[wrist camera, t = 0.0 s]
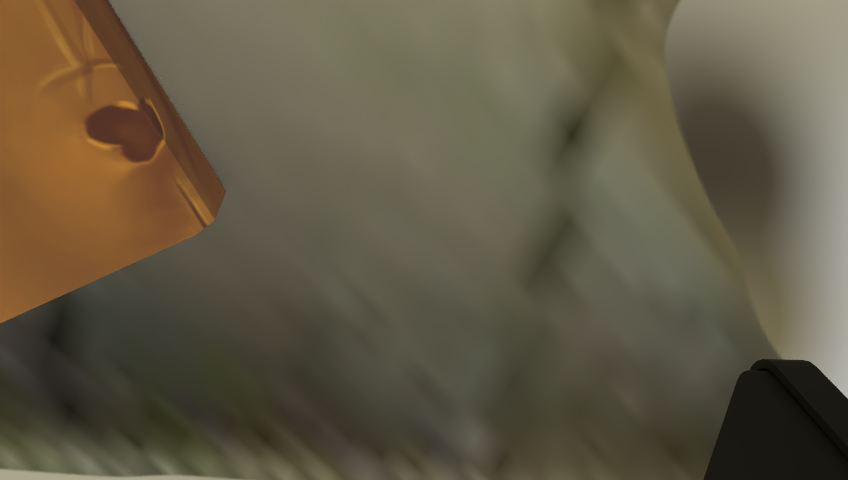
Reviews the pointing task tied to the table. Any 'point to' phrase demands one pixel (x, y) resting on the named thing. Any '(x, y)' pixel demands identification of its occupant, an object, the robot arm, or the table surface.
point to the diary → (87, 154)
